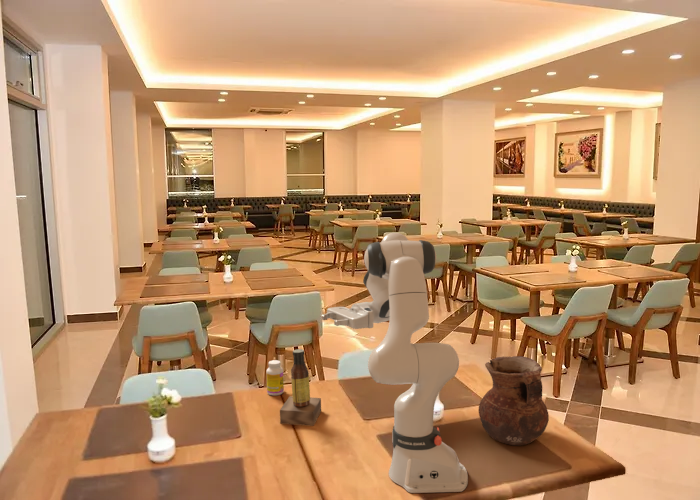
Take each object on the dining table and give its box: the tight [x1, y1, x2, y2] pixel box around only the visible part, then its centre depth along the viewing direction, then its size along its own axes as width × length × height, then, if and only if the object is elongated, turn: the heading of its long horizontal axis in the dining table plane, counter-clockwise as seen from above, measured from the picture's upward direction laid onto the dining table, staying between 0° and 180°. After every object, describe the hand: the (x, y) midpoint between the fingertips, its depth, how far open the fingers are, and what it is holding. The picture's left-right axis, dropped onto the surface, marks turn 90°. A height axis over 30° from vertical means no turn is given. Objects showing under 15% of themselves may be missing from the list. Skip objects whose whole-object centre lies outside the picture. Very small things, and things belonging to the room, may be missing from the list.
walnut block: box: [279, 395, 322, 427], centre depth 194 cm, size 12×12×5 cm
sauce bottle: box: [290, 348, 311, 407], centre depth 192 cm, size 7×6×20 cm
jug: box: [478, 355, 550, 447], centre depth 176 cm, size 22×21×25 cm
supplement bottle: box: [265, 359, 285, 396], centre depth 216 cm, size 7×7×13 cm
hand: (328, 320), depth 196 cm, fingers open, 8 cm apart
